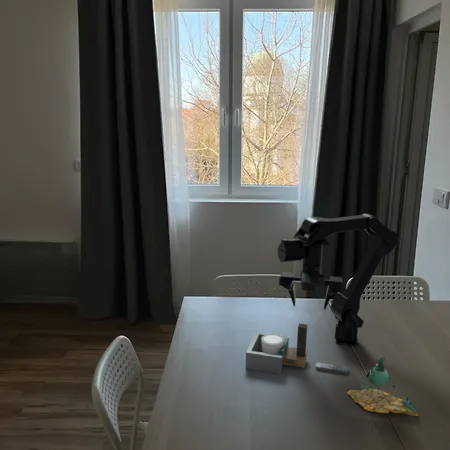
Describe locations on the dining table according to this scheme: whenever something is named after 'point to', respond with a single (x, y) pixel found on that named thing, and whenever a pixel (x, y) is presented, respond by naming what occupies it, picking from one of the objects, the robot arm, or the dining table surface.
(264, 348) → the white cylinder
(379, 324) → the dining table surface
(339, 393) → the dining table surface
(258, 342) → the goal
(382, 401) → the gold and teal figure
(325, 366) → the rail
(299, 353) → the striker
